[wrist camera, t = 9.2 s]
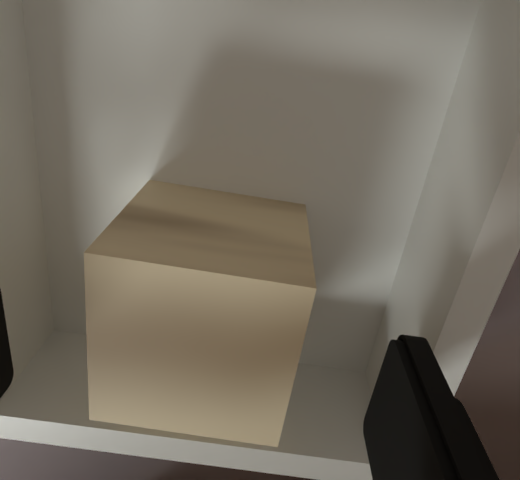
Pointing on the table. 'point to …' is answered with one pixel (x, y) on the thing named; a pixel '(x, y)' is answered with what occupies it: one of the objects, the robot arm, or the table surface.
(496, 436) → the table surface
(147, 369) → the cube
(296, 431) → the tote
